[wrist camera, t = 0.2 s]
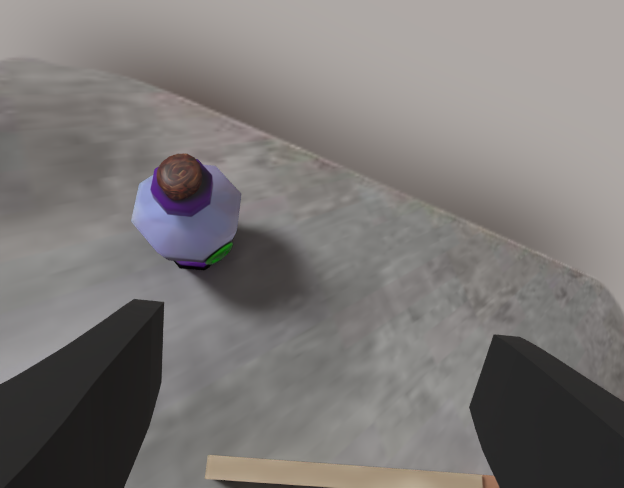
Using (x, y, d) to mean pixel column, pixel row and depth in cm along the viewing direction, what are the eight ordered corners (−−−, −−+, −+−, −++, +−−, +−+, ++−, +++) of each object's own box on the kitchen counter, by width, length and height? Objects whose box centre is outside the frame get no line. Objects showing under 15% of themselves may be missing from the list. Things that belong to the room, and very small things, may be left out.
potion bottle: (214, 304, 42) (202, 250, 31) (127, 260, 43) (86, 193, 32) (260, 225, 45) (264, 152, 35) (179, 186, 46) (158, 102, 35)
